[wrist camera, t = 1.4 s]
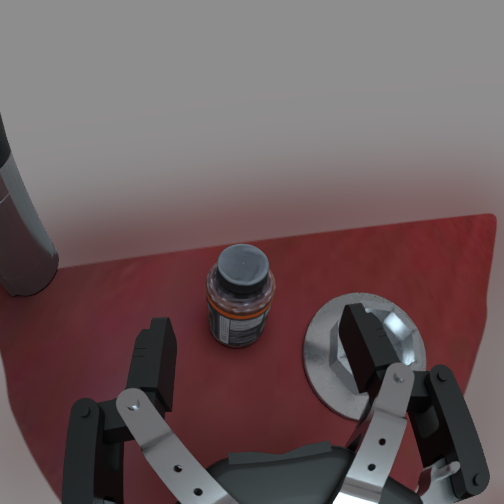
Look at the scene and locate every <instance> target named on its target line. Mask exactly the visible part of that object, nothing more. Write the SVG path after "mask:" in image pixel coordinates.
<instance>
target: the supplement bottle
mask: <svg viewBox="0 0 504 504" xmlns="http://www.w3.org/2000/svg"><path fill="white" fill-rule="evenodd" d="M274 294H275V279H274V277H273V274H272V272H271V271H270V269H269V262H268V259H267V257H266V255H265V254H264V253H263V252H262V251H261V250H259V249H258V248H256V247H254V246H251V245H248V244H236V245H232V246H230V247H228V248H226V249H225V250H224V251H223V252H222V253H221V254H220V256H219V258H218V262H217V263H216V264H215V265H214V266H213V267H212V268H211V269H210V271H209V273H208V276H207V280H206V295H207V308H208V322H209V327H210V330H211V333H212V334H213V336H214V337H215V339H216V340H217V341H219V342H220V343H222V344H223V345H226V346H228V347H233V348H241V347H245V346H248V345H250V344H252V343H254V342H255V341H256V340H257V339H258V337H259V336H260V335H261V333H262V331H263V328H264V325H265V322H266V319H267V316H268V313H269V310H270V307H271V303H272V300H273V297H274Z"/></svg>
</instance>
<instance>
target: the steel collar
mask: <svg viewBox="0 0 504 504" xmlns="http://www.w3.org/2000/svg"><path fill="white" fill-rule="evenodd" d="M354 303H362V304H363V306H364V308H365V310H366V312H367V313H369V312H372V313H373V314H374V315H375V316H376V317H377V318H378V319H379V320H380V322H381V324H382V326H383V327H384V330H385V331H386V333H387V337H389V339H390V341H391V343H392V346H393V348H394V350H395V352H396V354H397V356H398V358H399V360H400V362H401V363H404V364H406V365H408V366H409V367H410V368H411V369H412V370H413V371H426V353H425V347H424V344H423V340H422V338H421V335H420V333H419V331H418V329H417V327H416V326H415V324H414V323H413V321H412V320H411V319H410V318H409V316H408V315H407V314H406V313H405V312H404V311H403V310H402V309H401V308H399V307H398V306H397V305H395V304H394V303H392V302H391V301H389V300H387V299H385V298H382V297H380V296H377V295H373V294H369V293H350V294H345V295H342V296H339V297H337V298H334V299H332V300H331V301H329V302H328V303H326V304H325V305H324V306H323V307H322V308H321V309H320V310H319V311H318V312H317V313H316V315H315V316H314V318H313V319H312V321H311V323H310V324H309V326H308V328H307V331H306V333H305V337H304V341H303V347H302V359H303V367H304V371H305V375H306V377H307V380H308V382H309V384H310V386H311V388H312V390H313V392H314V393H315V394H316V396H317V397H318V398H319V400H320V401H321V402H322V403H323V404H324V405H325V406H326V407H328V408H329V409H330V410H332V411H333V412H335V413H336V414H338V415H340V416H342V417H344V418H347V419H350V420H354V421H359V418H360V416H361V414H362V411H363V409H364V406H365V404H366V401H367V399H368V397H369V396H368V393H367V392H365V393H361V394H359V391H358V388H357V385H356V382H355V379H354V377H353V374H352V371H351V368H350V365H349V363H348V360H347V357H346V354H345V351H344V349H343V346H342V343H341V341H340V338H339V333H338V327H339V323H340V320H341V316H342V313H343V310H344V306H345V305H347V304H354Z"/></svg>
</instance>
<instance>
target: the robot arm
mask: <svg viewBox="0 0 504 504" xmlns="http://www.w3.org/2000/svg"><path fill="white" fill-rule="evenodd" d="M58 262H59V257H58V253H57V250H56V249H55V247H54V245H53V243H52V241H51V239H50V238H49V236H48V234H47V232H46V230H45V228H44V226H43V224H42V222H41V220H40V219H39V216H38V214H37V212H36V210H35V208H34V206H33V204H32V201H31V199H30V197H29V195H28V192H27V190H26V188H25V186H24V183H23V181H22V179H21V176H20V173H19V171H18V168H17V166H16V163H15V161H14V158H13V155H12V152H11V149H10V146H9V143H8V140H7V137H6V133H5V129H4V125H3V122H2V118H1V114H0V283H1V284H2V286H3V287H4V288H5V289H6V290H7V291H8V293H9V294H10V295H11V296H12V297H13V296H15V295H17V294H18V295H23V296H29V295H32V294H35V293H37V292H39V291H40V290H42V289H43V288H44V287H45V286H46V285H47V284H48V283H49V282H50V281H51V279H52V278H53V276H54V274H55V273H56V270H57V267H58ZM338 333H339V338H340V341H341V343H342V346H343V349H344V351H345V354H346V357H347V360H348V363H349V365H350V368H351V371H352V374H353V377H354V379H355V382H356V385H357V388H358V391H359V394H361V393H365V392H367V393H368V396H369V397H368V399H367V401H366V404H365V406H364V409H363V411H362V414H361V416H360V418H359V421H358V423H357V425H356V428H355V430H354V432H353V433H352V435H351V437H350V438H349V440H348V442H347V443H346V445H345V447H340V446H334V445H330V441H325V442H320V443H314V444H309V445H305V446H302V447H300V448H297V449H295V450H292V451H290V452H287V453H284V454H281V455H277V454H268V453H260V452H242V453H228V458H225V459H222V460H220V461H217V462H216V463H214V464H212V465H211V466H209V467H208V468H207V469H206V470H205V469H204V468H203V467H202V466H201V465H200V464H199V462H198V461H197V460H196V459H195V458H194V457H193V456H192V454H191V453H190V452H189V451H188V450H187V449H186V447H185V446H184V445H183V444H182V443H181V441H180V440H179V439H178V438H177V436H176V435H175V434H174V433H173V431H172V430H171V429H170V427H169V426H168V425H167V424H166V422H165V421H164V419H165V412H172V404H173V390H174V377H175V365H176V355H177V342H176V337H175V334H174V331H173V328H172V325H171V321H170V319H169V318H168V317H165V318H152V320H151V325H150V329H142V331H141V332H140V333H139V335H138V336H137V338H136V341H135V346H134V350H133V355H132V360H131V364H130V369H129V375H128V380H127V385H126V388H125V390H124V391H123V392H121V393H120V395H119V396H118V397H117V398H115V399H113V400H109V401H104V402H100V403H96V402H95V401H94V400H92V399H90V398H82V399H79V400H78V401H76V402H75V403H74V405H73V407H72V409H71V415H70V421H69V427H68V434H67V441H66V449H65V459H64V470H63V485H62V504H124V501H123V456H124V442H125V441H130V440H135V439H136V441H137V442H138V444H139V445H140V447H141V451H142V453H143V455H144V456H145V458H146V459H147V461H148V462H149V463H150V465H151V466H152V467H153V469H154V470H155V472H156V473H157V474H158V475H159V477H160V478H161V479H162V481H163V482H164V483H165V484H166V486H167V487H168V488H169V489H170V491H171V492H172V493H173V494H174V495H175V497H176V498H177V499H178V502H177V503H176V504H452V503H455V502H459V501H461V500H464V499H467V498H470V497H473V496H475V495H478V494H480V493H481V492H483V491H484V490H485V489H486V487H487V485H488V483H489V479H490V475H489V470H488V466H487V463H486V459H485V456H484V453H483V449H482V446H481V443H480V440H479V437H478V434H477V431H476V429H475V426H474V423H473V421H472V418H471V415H470V413H469V410H468V408H467V405H466V402H465V400H464V397H463V395H462V393H461V390H460V388H459V386H458V383H457V381H456V379H455V377H454V375H453V373H452V371H451V370H450V369H449V368H448V367H447V366H445V365H436V366H434V367H433V368H432V369H431V370H430V371H413V370H412V369H411V368H410V367H409V366H408V365H406V364H404V363H401V362H400V360H399V358H398V356H397V354H396V352H395V350H394V348H393V346H392V343H391V341H390V339H389V337H387V333H386V331H385V330H384V327H383V326H382V324H381V322H380V320H379V319H378V318H377V317H376V316H375V315H374V314H373V313H372V312H369V313H367V312H366V310H365V308H364V306H363V304H362V303H354V304H347V305H345V306H344V310H343V313H342V316H341V320H340V323H339V327H338ZM406 412H408V415H409V418H410V422H411V425H412V428H413V431H414V435H415V438H416V442H417V445H418V449H419V452H420V456H421V460H422V464H423V468H424V469H423V471H422V472H421V474H420V476H419V481H418V485H419V489H418V491H417V493H415V492H414V491H412V490H410V489H409V488H407V487H405V486H404V485H402V484H401V483H399V482H398V481H396V480H394V479H393V478H391V477H390V476H388V474H389V472H390V470H391V467H392V465H393V462H394V459H395V457H396V454H397V451H398V448H399V446H400V443H401V440H402V437H403V434H404V431H405V428H406V424H407V419H406V418H405V413H406Z"/></svg>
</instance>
